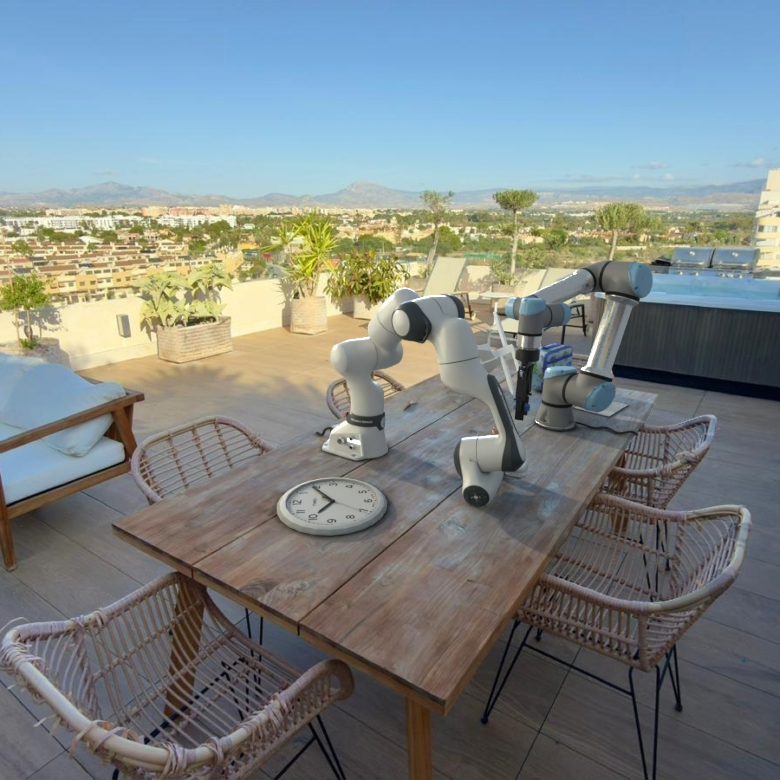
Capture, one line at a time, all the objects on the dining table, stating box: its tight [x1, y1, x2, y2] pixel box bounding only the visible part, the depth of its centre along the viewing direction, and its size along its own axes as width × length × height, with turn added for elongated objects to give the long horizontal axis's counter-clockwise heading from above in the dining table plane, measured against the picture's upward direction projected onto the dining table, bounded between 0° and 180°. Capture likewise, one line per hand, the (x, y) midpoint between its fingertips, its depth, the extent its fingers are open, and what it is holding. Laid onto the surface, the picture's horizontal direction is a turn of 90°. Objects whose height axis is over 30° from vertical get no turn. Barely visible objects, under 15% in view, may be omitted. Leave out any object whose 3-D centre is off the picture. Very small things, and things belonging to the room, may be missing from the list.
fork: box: [403, 395, 419, 411], centre depth 222 cm, size 3×16×2 cm, turn 160°
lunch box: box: [531, 343, 574, 392], centre depth 249 cm, size 26×11×21 cm, turn 134°
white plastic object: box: [440, 310, 521, 398], centre depth 245 cm, size 37×45×31 cm
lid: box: [513, 402, 531, 413], centre depth 171 cm, size 5×5×2 cm
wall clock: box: [276, 476, 388, 537], centre depth 142 cm, size 30×2×30 cm
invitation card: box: [573, 400, 629, 418], centre depth 226 cm, size 21×1×15 cm
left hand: (497, 453), depth 162 cm, fingers closed on jar, 5 cm apart
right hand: (520, 416), depth 172 cm, fingers closed on lid, 5 cm apart
